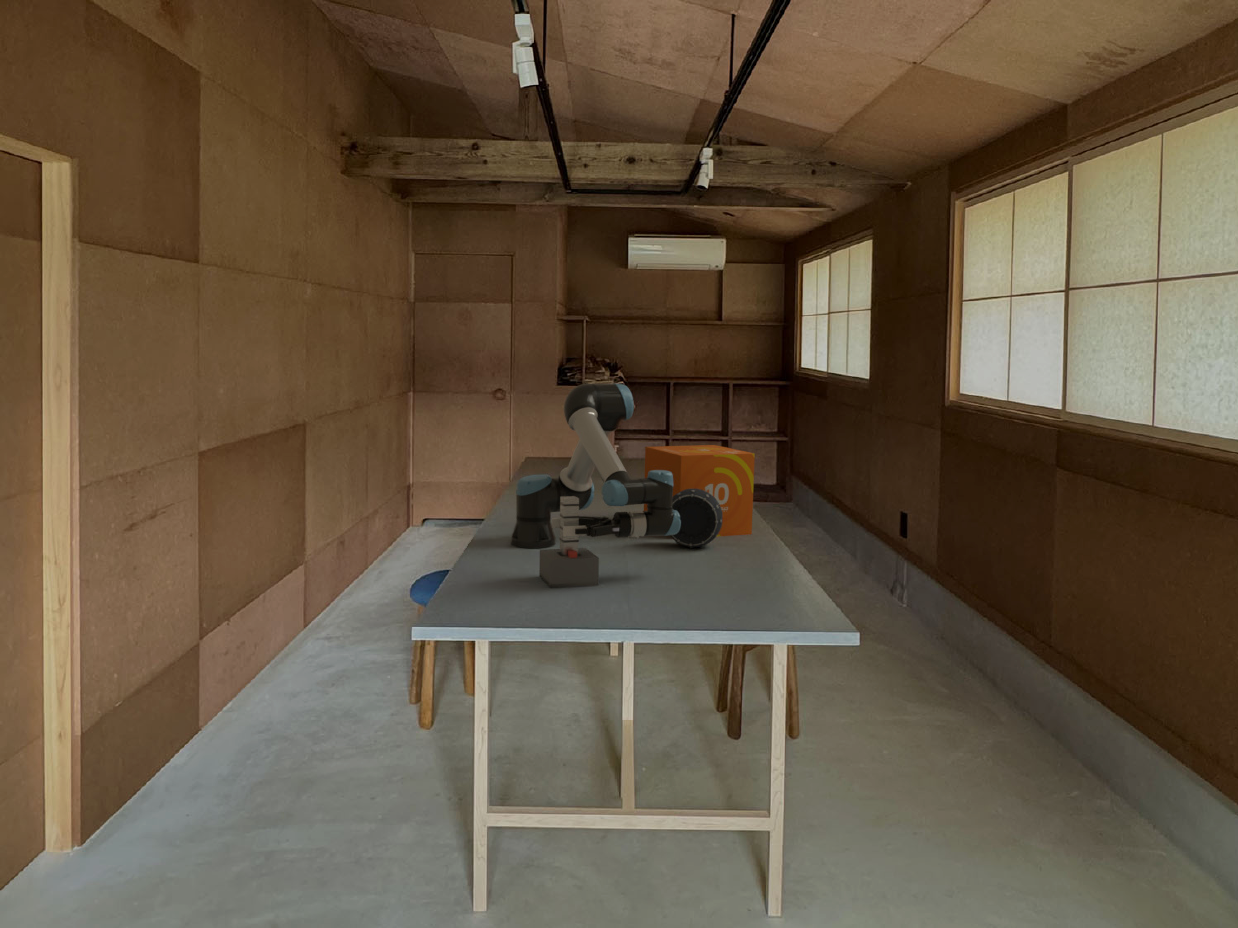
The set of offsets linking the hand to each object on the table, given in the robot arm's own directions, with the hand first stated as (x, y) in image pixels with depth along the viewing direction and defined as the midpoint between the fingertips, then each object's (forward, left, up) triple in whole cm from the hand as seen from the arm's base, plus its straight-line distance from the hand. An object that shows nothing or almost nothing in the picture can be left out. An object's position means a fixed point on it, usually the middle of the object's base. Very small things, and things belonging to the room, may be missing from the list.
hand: (557, 527), depth 279 cm
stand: (+3, +2, -16) cm, 16 cm away
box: (+28, +93, -16) cm, 98 cm away
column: (+3, +2, -14) cm, 15 cm away
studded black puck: (+31, +61, -16) cm, 70 cm away
